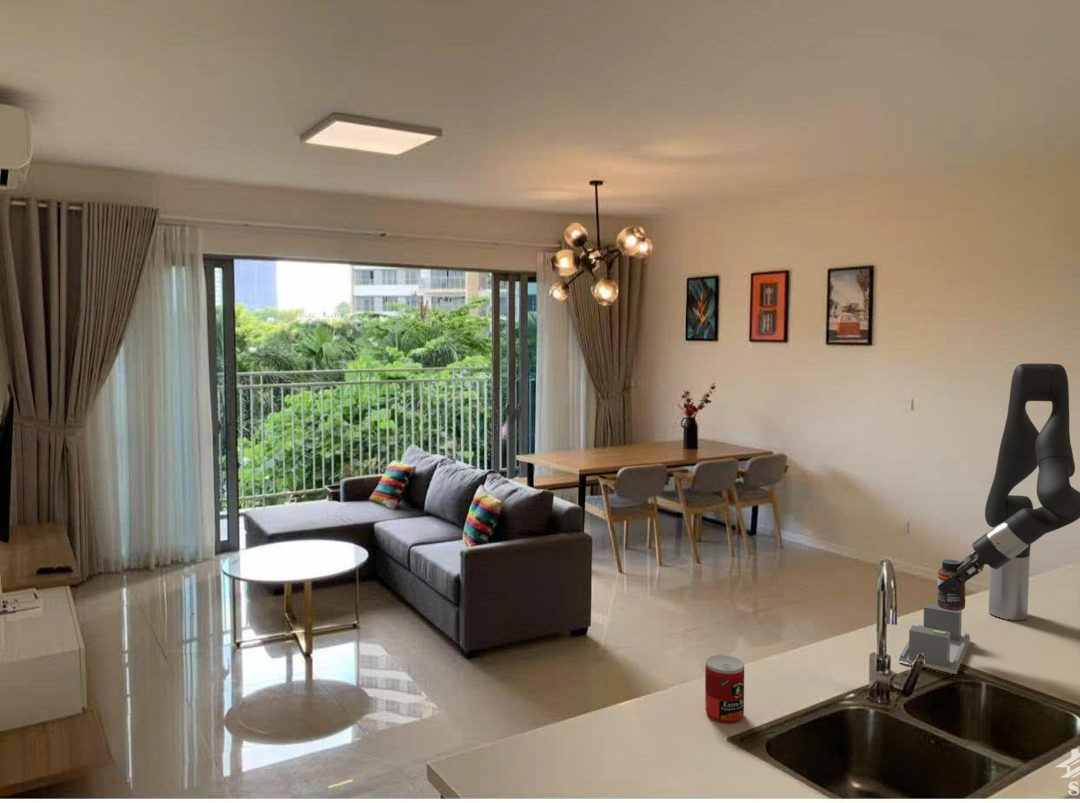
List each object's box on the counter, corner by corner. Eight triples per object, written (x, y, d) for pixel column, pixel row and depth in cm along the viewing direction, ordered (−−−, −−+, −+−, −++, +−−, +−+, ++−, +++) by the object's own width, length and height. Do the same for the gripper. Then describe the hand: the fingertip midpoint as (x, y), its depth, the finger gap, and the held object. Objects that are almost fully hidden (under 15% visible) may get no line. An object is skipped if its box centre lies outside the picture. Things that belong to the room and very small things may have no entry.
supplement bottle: (958, 603, 191) (959, 558, 190) (969, 611, 185) (970, 564, 184) (932, 603, 191) (933, 557, 190) (943, 611, 185) (944, 564, 184)
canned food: (722, 727, 154) (723, 673, 153) (697, 711, 161) (697, 659, 160) (752, 718, 157) (752, 665, 156) (725, 702, 164) (726, 652, 163)
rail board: (917, 631, 203) (918, 599, 202) (970, 641, 196) (971, 608, 195) (898, 663, 183) (899, 627, 183) (956, 675, 176) (957, 638, 176)
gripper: (990, 526, 188) (934, 567, 196) (984, 538, 176) (925, 581, 184) (1015, 550, 186) (958, 591, 193) (1011, 565, 174) (950, 607, 181)
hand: (942, 586), depth 189 cm, fingers closed on supplement bottle, 6 cm apart
